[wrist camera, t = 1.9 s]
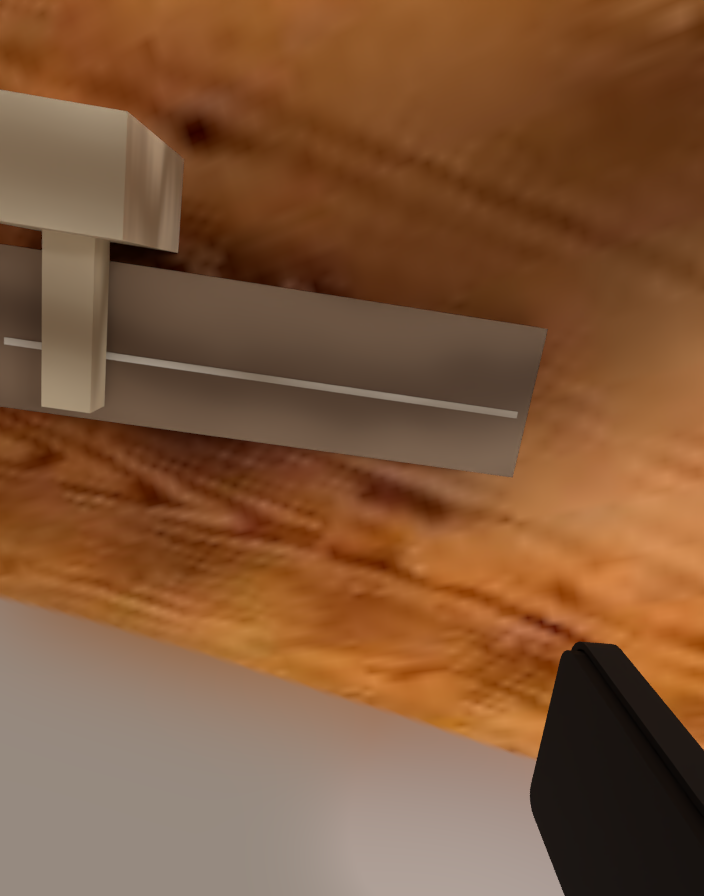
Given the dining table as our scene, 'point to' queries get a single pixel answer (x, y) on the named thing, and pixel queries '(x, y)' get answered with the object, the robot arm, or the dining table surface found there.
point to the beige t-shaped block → (83, 222)
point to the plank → (288, 366)
